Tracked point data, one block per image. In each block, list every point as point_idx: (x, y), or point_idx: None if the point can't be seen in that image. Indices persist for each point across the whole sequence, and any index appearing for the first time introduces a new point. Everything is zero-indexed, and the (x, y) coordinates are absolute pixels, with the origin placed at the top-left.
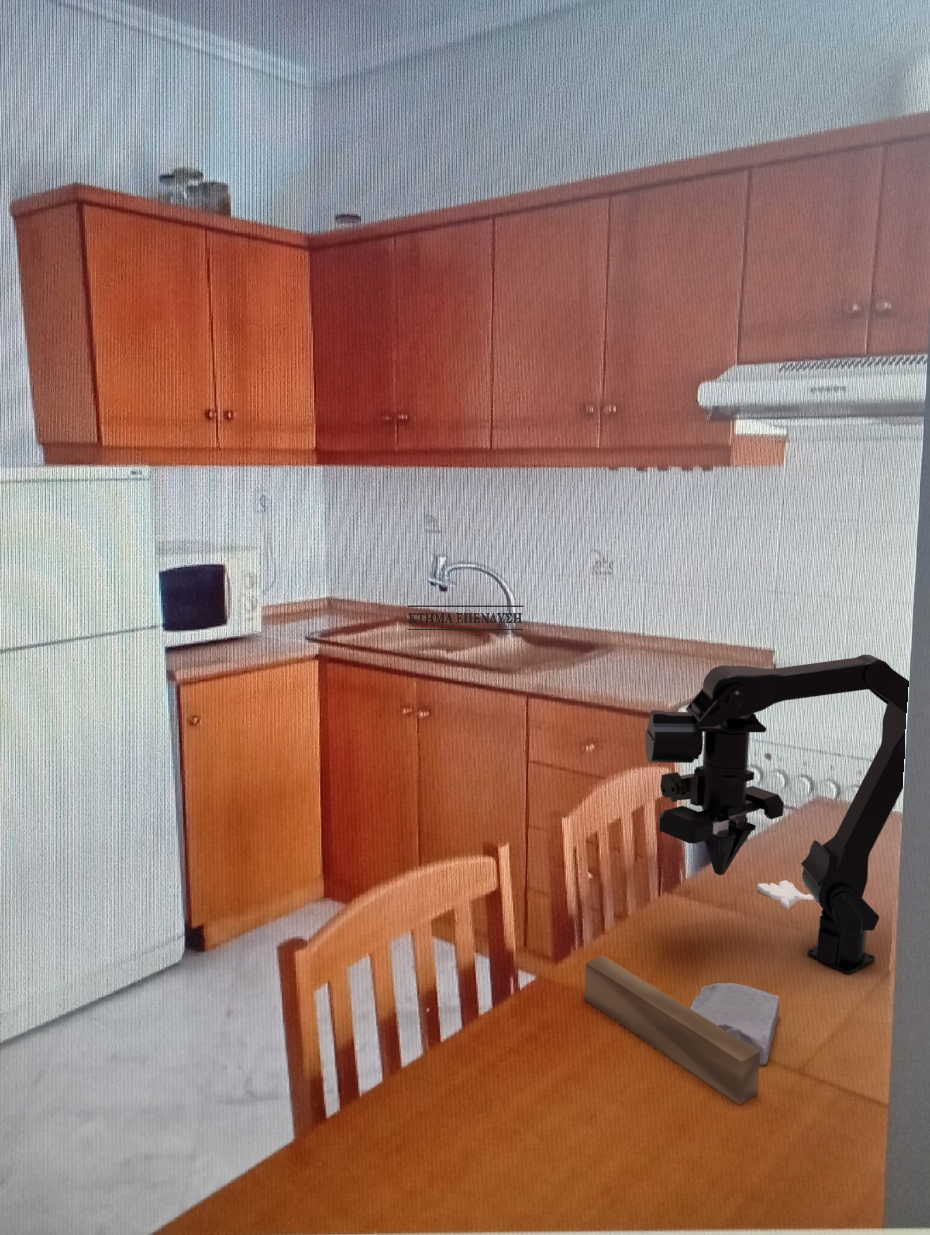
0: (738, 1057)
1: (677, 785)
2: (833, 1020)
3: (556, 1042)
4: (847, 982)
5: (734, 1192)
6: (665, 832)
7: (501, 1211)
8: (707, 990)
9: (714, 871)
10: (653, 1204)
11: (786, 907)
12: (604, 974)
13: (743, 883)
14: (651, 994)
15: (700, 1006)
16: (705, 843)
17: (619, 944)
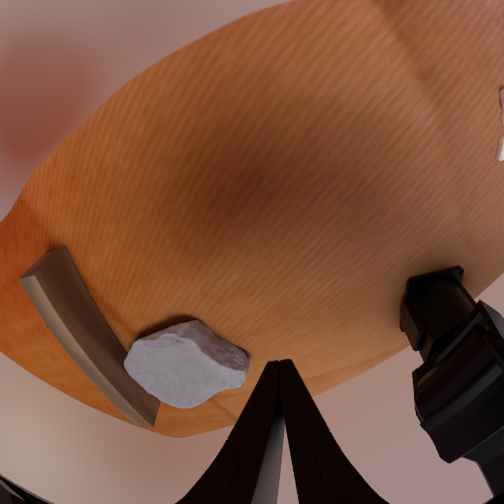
0: (134, 422)
1: None
2: (300, 375)
3: None
4: (384, 337)
5: (118, 413)
6: (3, 478)
7: (26, 368)
8: (168, 339)
9: (265, 366)
10: (81, 399)
11: (497, 156)
12: (36, 308)
13: (496, 55)
14: (79, 357)
15: (150, 346)
16: (208, 470)
17: (126, 123)
